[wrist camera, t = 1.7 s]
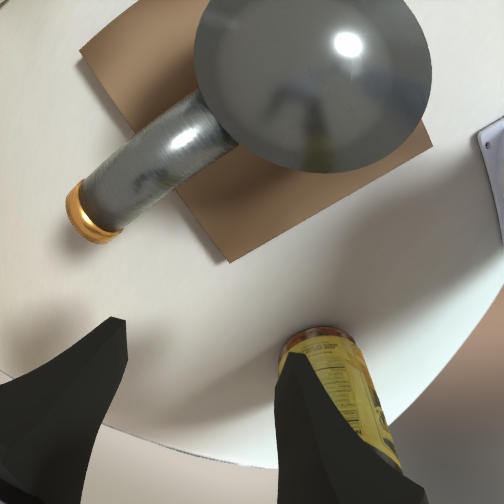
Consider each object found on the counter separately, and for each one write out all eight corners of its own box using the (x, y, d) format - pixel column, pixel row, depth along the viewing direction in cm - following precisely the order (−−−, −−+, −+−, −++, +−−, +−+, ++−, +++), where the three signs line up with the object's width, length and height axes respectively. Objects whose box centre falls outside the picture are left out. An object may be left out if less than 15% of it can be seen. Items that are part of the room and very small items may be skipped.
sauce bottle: (346, 379, 24) (391, 606, 6) (272, 379, 24) (276, 626, 6) (367, 317, 21) (459, 593, 3) (282, 315, 21) (302, 638, 3)
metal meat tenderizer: (333, -41, 9) (349, -70, 6) (430, 110, 12) (465, 113, 9) (59, 139, 13) (22, 149, 10) (155, 272, 16) (136, 304, 13)
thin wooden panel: (425, 144, 16) (458, 153, 13) (231, 256, 20) (225, 287, 16) (282, -68, 11) (287, -99, 7) (86, 52, 14) (53, 44, 11)
